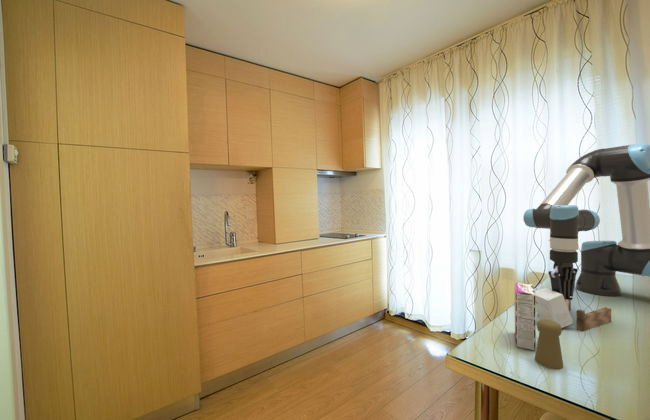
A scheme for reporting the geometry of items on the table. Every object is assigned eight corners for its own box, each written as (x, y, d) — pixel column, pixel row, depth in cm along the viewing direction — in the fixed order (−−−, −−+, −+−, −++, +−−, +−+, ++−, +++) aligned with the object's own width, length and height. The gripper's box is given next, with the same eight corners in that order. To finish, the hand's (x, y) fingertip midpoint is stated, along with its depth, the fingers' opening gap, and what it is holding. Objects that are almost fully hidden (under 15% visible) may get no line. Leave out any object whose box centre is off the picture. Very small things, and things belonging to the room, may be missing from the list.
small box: (573, 323, 96) (563, 294, 96) (558, 330, 96) (547, 300, 95) (554, 314, 104) (544, 286, 104) (539, 320, 104) (529, 292, 103)
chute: (566, 308, 114) (566, 292, 114) (611, 321, 102) (611, 303, 102) (537, 316, 107) (537, 299, 107) (582, 331, 94) (582, 311, 94)
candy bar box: (514, 332, 95) (514, 282, 94) (533, 336, 92) (533, 284, 92) (514, 347, 85) (515, 291, 85) (536, 351, 83) (536, 294, 82)
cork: (529, 357, 80) (529, 317, 79) (549, 355, 80) (550, 316, 80) (547, 370, 74) (548, 326, 73) (569, 368, 74) (570, 325, 74)
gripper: (562, 246, 107) (561, 310, 108) (540, 249, 102) (539, 317, 102) (587, 249, 100) (586, 318, 101) (565, 253, 95) (564, 325, 96)
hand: (562, 317), depth 102 cm, fingers closed
